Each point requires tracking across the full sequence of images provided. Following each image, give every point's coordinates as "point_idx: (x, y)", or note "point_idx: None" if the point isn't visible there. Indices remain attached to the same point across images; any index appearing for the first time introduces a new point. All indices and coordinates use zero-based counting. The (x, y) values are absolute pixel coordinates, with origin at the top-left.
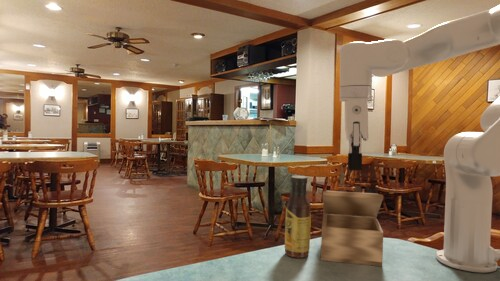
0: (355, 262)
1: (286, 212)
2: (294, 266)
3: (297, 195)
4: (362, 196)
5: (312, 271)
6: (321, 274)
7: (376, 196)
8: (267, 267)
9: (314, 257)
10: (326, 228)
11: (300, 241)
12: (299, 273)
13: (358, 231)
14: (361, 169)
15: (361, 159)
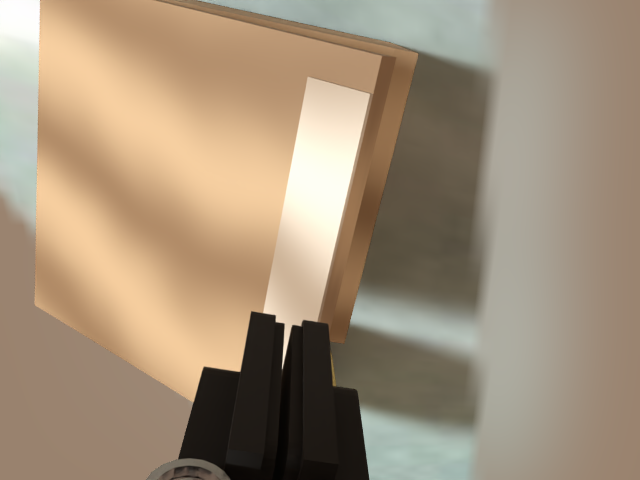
0: None
1: None
2: (398, 363)
3: None
4: (356, 214)
5: (440, 314)
6: (465, 290)
7: (376, 110)
8: (408, 436)
9: None
10: (347, 322)
11: (335, 382)
12: (456, 353)
13: (383, 180)
14: (326, 325)
15: (332, 406)
